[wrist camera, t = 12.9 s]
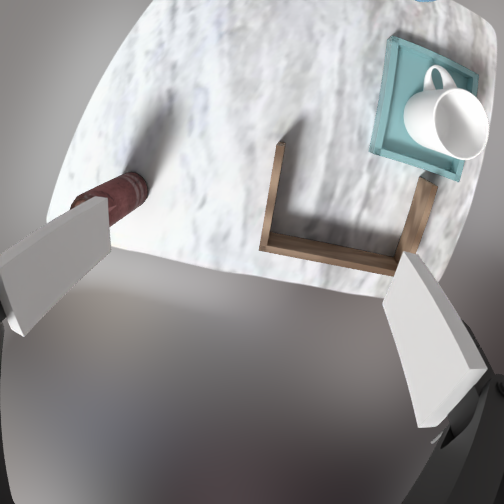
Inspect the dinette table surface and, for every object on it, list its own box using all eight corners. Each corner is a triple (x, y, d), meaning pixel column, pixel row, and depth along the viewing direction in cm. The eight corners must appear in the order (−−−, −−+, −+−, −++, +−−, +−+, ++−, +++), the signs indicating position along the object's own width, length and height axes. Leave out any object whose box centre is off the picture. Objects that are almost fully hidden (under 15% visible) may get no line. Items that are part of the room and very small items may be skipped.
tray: (387, 39, 30) (392, 35, 27) (470, 75, 29) (478, 74, 26) (368, 151, 38) (373, 153, 36) (451, 178, 37) (459, 182, 35)
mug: (443, 71, 29) (480, 64, 20) (452, 147, 34) (490, 160, 25) (393, 68, 31) (422, 57, 22) (404, 148, 36) (436, 160, 27)
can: (155, 199, 46) (109, 233, 34) (126, 209, 48) (78, 243, 35) (142, 165, 44) (91, 189, 31) (114, 178, 45) (61, 204, 33)
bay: (278, 141, 39) (276, 145, 35) (424, 178, 38) (438, 186, 34) (262, 236, 46) (258, 250, 42) (396, 263, 45) (405, 278, 41)
